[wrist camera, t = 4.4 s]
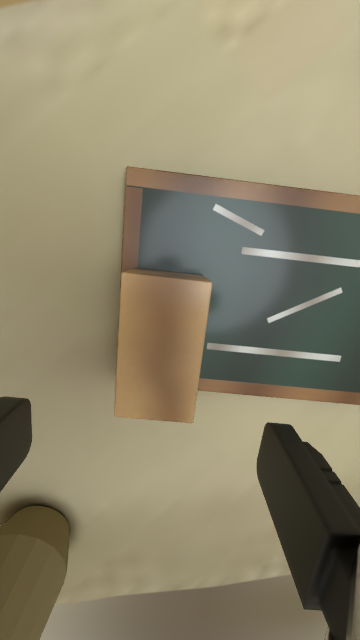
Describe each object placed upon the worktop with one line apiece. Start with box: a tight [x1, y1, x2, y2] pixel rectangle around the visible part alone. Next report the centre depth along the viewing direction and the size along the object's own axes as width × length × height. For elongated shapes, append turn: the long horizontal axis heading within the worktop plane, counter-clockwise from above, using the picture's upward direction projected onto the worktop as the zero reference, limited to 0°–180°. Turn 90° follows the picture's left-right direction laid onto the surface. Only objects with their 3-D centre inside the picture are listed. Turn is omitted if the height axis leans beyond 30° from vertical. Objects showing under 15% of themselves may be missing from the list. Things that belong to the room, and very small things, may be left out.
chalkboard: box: [116, 167, 360, 405], centre depth 20 cm, size 22×16×1 cm
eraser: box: [114, 267, 212, 423], centre depth 17 cm, size 5×9×5 cm, turn 174°
